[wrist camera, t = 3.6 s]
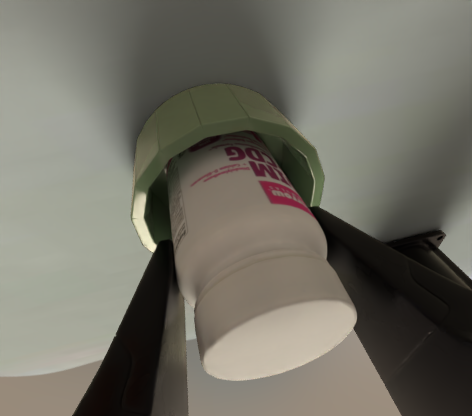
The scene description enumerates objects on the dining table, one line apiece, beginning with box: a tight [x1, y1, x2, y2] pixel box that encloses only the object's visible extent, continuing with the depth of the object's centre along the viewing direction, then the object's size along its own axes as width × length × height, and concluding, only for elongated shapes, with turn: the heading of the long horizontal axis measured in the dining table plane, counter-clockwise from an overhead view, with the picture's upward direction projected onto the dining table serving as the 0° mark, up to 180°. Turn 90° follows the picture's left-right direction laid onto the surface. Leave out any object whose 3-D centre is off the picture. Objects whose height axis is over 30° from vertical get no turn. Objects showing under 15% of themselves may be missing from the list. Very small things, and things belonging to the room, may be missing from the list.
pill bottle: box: [167, 130, 357, 380], centre depth 10 cm, size 5×5×8 cm
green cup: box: [131, 83, 325, 253], centre depth 12 cm, size 7×7×4 cm
